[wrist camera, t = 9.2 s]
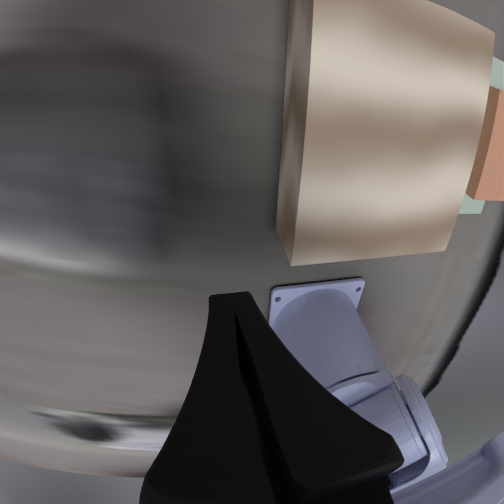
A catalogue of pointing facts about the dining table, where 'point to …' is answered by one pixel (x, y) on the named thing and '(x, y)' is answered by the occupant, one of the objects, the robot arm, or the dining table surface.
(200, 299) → the dining table surface
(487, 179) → the tile
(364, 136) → the plate
